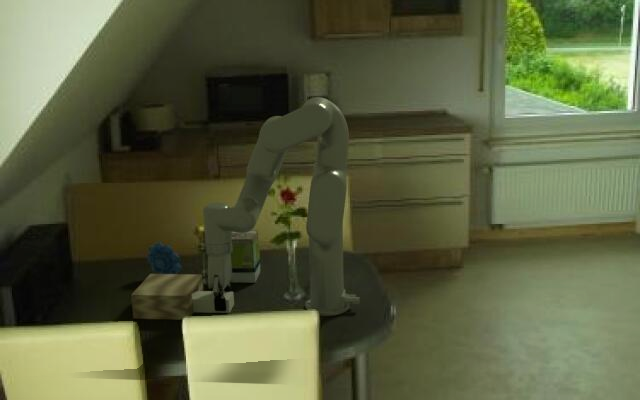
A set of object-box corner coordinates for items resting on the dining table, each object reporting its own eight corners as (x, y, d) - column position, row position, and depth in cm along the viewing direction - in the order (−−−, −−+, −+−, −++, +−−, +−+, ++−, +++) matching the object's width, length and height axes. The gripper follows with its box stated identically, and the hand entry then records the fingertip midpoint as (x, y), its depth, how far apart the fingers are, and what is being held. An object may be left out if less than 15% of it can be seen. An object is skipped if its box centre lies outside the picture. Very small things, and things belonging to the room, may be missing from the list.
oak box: (203, 296, 212) (202, 274, 210) (188, 319, 197) (186, 295, 195) (152, 296, 214) (150, 273, 212) (133, 318, 199) (131, 294, 197)
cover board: (234, 304, 206) (233, 291, 205) (229, 312, 201) (228, 299, 200) (181, 303, 208) (180, 290, 207) (174, 311, 202) (173, 298, 201)
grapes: (142, 281, 226) (139, 246, 223) (152, 273, 232) (149, 239, 229) (176, 283, 223) (172, 248, 220) (185, 276, 229) (182, 241, 226)
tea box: (261, 272, 231) (258, 229, 227) (255, 283, 221) (252, 239, 217) (216, 271, 233) (213, 229, 229) (208, 283, 223) (205, 239, 219)
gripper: (214, 237, 207) (218, 293, 212) (197, 257, 191) (202, 318, 196) (239, 237, 207) (242, 294, 211) (225, 257, 190) (229, 318, 195)
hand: (223, 305), depth 204 cm, fingers closed on cover board, 6 cm apart
